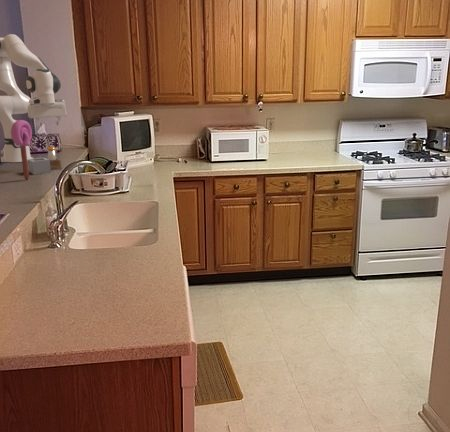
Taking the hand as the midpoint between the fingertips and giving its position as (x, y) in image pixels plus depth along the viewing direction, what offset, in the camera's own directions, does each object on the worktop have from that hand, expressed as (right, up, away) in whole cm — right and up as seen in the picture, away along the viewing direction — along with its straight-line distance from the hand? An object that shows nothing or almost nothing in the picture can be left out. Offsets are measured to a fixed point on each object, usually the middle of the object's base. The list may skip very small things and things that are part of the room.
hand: (48, 125), depth 271 cm
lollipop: (-4, -32, -21) cm, 38 cm away
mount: (0, -23, +7) cm, 24 cm away
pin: (0, -23, +7) cm, 24 cm away
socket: (-4, -26, -3) cm, 26 cm away
